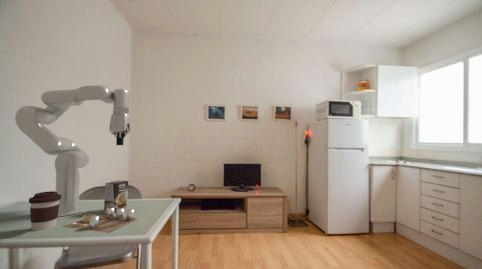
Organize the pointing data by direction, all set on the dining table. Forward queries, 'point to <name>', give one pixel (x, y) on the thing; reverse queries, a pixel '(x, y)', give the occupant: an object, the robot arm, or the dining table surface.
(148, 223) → the dining table surface
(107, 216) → the spacer
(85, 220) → the nut
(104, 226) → the board
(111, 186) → the coffee box
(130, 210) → the spacer
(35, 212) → the coffee cup
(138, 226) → the dining table surface
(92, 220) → the spacer
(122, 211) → the spacer
